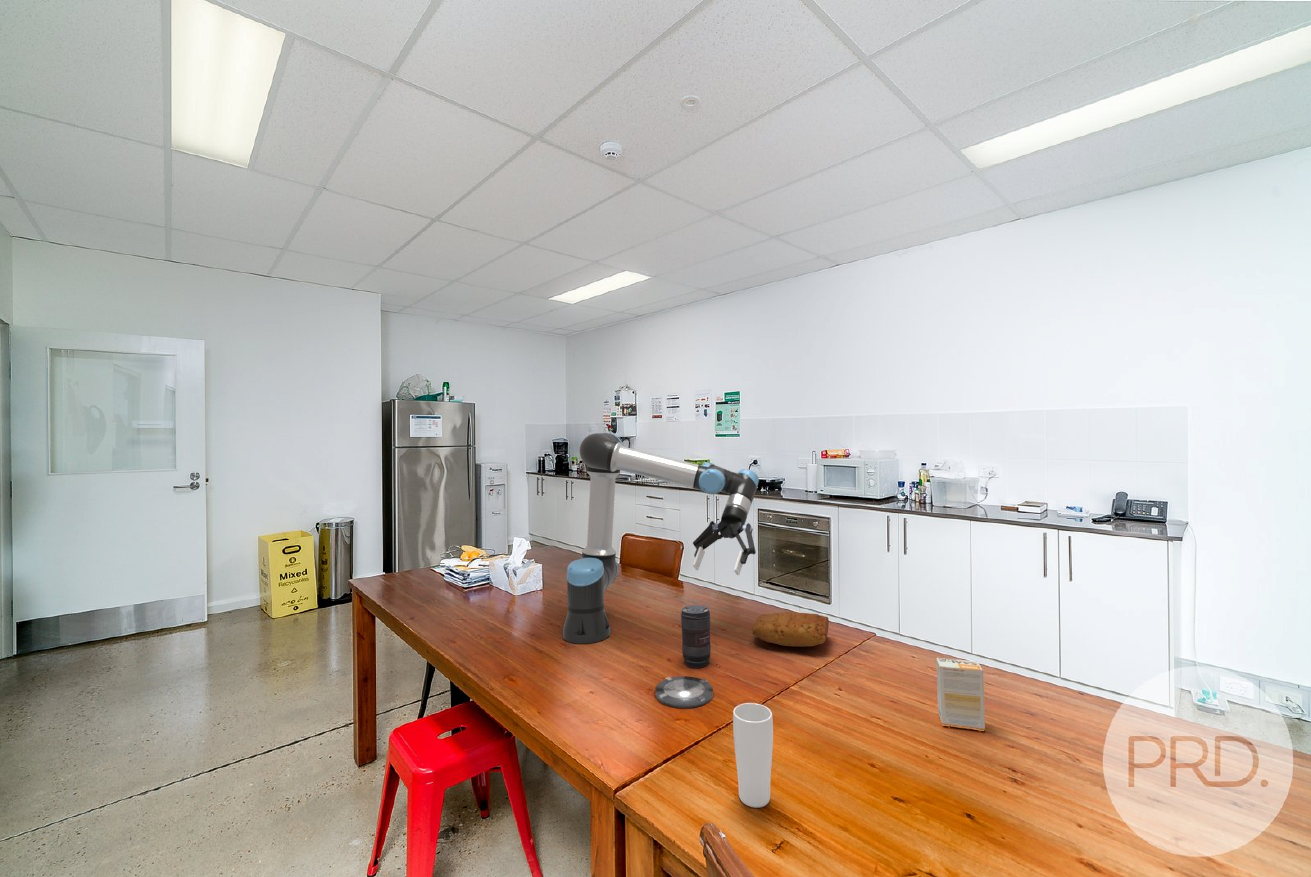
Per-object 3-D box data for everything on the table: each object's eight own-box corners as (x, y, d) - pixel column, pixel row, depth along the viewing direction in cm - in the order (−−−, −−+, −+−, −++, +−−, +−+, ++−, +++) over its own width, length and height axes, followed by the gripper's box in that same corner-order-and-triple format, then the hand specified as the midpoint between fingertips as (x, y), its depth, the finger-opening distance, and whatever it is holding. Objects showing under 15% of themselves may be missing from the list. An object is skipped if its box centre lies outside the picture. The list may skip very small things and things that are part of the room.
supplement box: (979, 721, 115) (978, 660, 115) (985, 733, 111) (984, 670, 111) (937, 715, 118) (935, 656, 118) (941, 727, 113) (939, 665, 113)
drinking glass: (730, 787, 95) (728, 703, 95) (767, 784, 96) (766, 701, 96) (739, 814, 89) (737, 723, 88) (779, 811, 89) (777, 721, 89)
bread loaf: (833, 638, 164) (832, 612, 164) (825, 660, 148) (824, 631, 148) (761, 629, 173) (761, 604, 173) (747, 648, 158) (746, 621, 158)
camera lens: (711, 657, 152) (710, 604, 152) (711, 669, 144) (710, 613, 144) (682, 656, 153) (681, 604, 153) (681, 668, 145) (680, 613, 145)
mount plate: (644, 691, 132) (644, 685, 132) (688, 676, 140) (688, 670, 140) (679, 714, 121) (679, 708, 121) (725, 696, 129) (724, 689, 129)
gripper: (776, 521, 164) (758, 582, 152) (705, 517, 179) (684, 572, 166) (769, 506, 160) (750, 567, 148) (697, 503, 174) (674, 558, 162)
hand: (715, 570), depth 157 cm, fingers open, 13 cm apart
